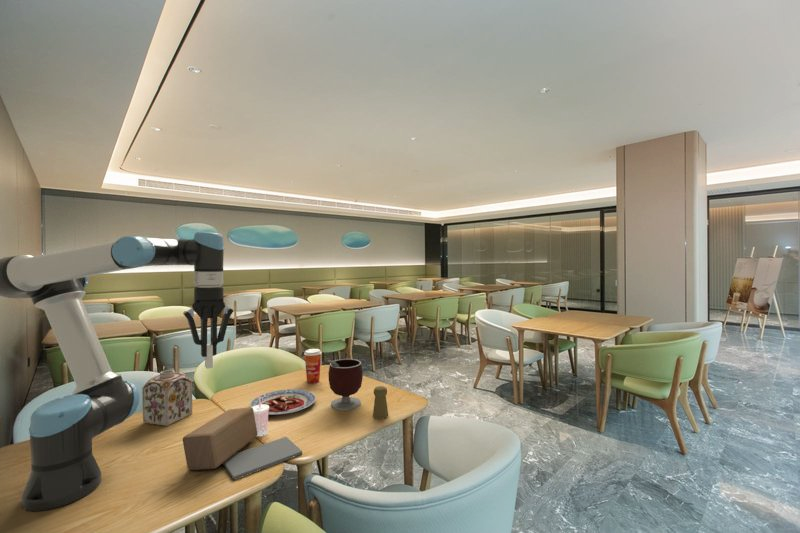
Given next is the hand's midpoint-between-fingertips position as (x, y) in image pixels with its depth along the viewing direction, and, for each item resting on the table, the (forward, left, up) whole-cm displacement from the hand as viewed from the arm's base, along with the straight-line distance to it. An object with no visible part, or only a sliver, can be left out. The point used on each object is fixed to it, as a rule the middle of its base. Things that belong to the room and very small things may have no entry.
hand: (208, 367), depth 106 cm
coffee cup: (+57, +47, -29) cm, 79 cm away
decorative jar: (-4, +45, -29) cm, 54 cm away
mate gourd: (+53, +12, -29) cm, 62 cm away
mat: (+13, -6, -29) cm, 32 cm away
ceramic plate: (+34, +28, -29) cm, 53 cm away
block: (-4, -2, -23) cm, 24 cm away
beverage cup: (+18, +10, -29) cm, 36 cm away
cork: (+58, -6, -29) cm, 65 cm away
